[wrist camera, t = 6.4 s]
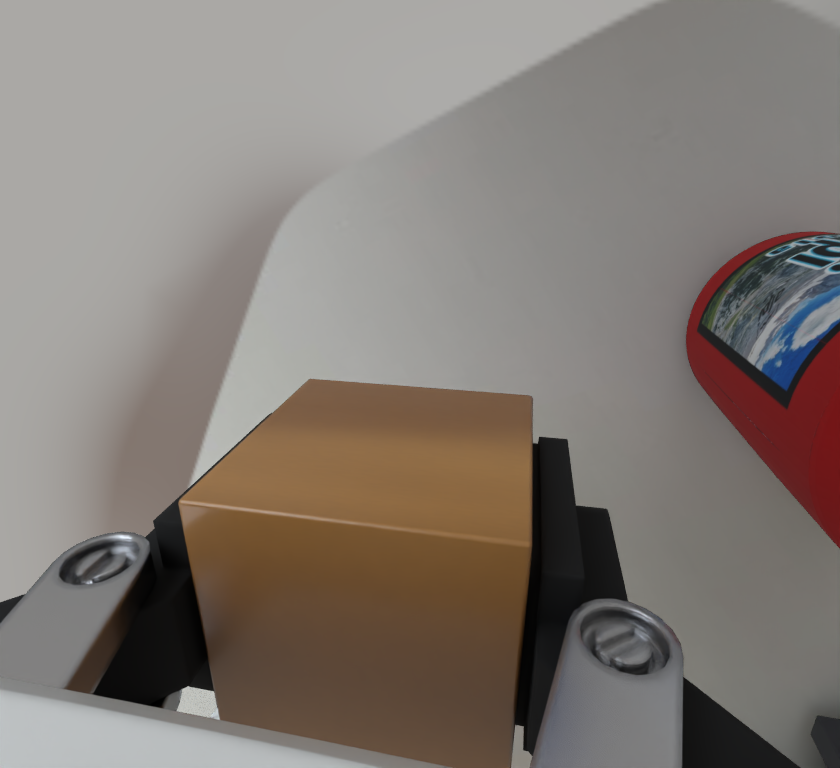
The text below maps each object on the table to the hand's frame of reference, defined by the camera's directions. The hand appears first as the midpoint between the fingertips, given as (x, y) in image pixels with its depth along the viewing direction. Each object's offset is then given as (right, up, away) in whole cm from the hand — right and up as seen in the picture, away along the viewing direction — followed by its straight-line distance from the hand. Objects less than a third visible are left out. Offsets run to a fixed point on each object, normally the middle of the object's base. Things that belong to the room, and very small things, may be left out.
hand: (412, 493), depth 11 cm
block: (0, 0, 0) cm, 0 cm away
